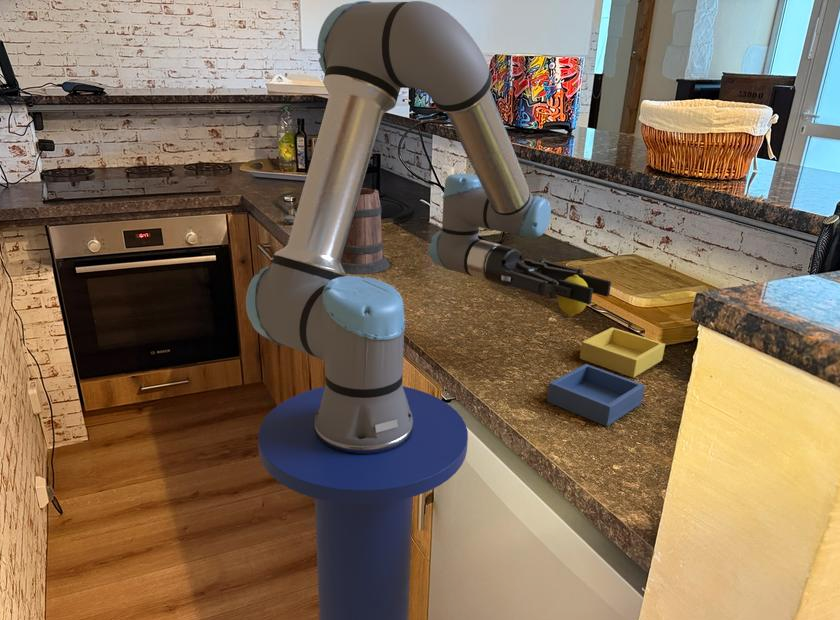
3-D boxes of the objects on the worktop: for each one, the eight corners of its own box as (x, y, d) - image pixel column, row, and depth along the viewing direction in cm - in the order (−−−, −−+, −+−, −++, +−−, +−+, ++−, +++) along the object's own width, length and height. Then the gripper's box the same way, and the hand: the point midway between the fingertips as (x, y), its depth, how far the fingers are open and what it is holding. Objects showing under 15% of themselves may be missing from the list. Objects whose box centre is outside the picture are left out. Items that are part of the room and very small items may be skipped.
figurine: (282, 225, 224) (281, 207, 222) (284, 222, 228) (283, 204, 226) (299, 225, 225) (298, 207, 222) (299, 222, 229) (299, 204, 226)
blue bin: (546, 401, 116) (549, 382, 115) (582, 381, 124) (585, 363, 123) (606, 426, 109) (610, 407, 108) (641, 403, 117) (645, 385, 115)
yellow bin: (579, 358, 133) (581, 341, 132) (609, 343, 141) (612, 327, 140) (633, 377, 126) (636, 360, 125) (662, 360, 134) (665, 343, 132)
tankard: (393, 273, 180) (394, 197, 172) (329, 274, 178) (327, 197, 169) (383, 249, 201) (384, 180, 193) (326, 250, 199) (324, 180, 190)
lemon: (588, 322, 122) (594, 280, 119) (557, 321, 122) (563, 278, 119) (582, 312, 127) (588, 270, 124) (552, 310, 127) (557, 269, 124)
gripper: (521, 273, 141) (622, 301, 127) (464, 291, 129) (568, 325, 115) (525, 237, 138) (629, 262, 124) (466, 252, 126) (574, 282, 111)
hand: (599, 292), depth 119 cm, fingers closed on lemon, 5 cm apart
